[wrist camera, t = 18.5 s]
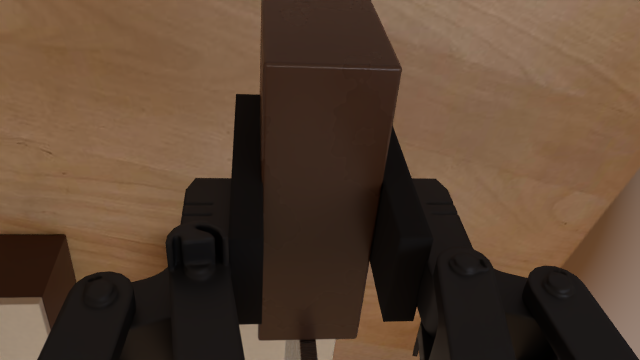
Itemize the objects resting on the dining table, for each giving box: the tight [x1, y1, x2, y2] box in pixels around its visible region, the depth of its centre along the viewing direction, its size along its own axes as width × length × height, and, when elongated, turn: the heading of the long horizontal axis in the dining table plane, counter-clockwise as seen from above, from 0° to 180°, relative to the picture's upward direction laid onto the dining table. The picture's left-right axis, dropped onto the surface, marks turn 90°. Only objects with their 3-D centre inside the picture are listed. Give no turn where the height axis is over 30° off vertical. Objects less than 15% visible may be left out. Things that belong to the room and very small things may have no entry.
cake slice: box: [0, 235, 76, 360], centre depth 39 cm, size 10×4×6 cm, turn 175°
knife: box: [258, 0, 402, 360], centre depth 21 cm, size 23×3×6 cm, turn 176°
